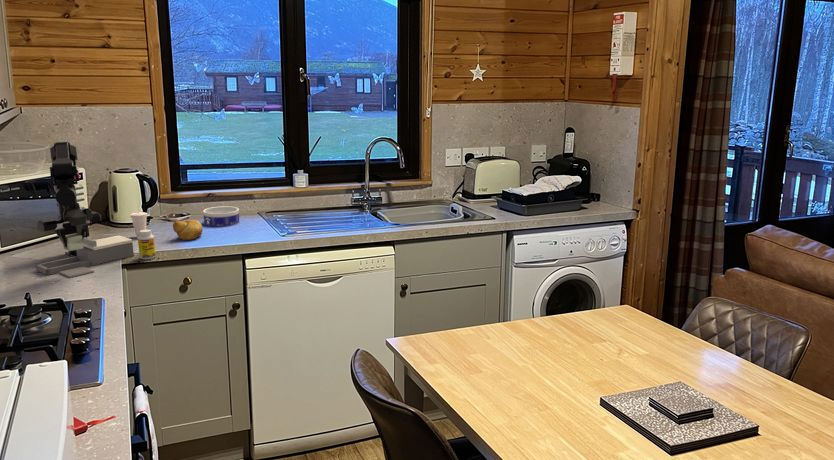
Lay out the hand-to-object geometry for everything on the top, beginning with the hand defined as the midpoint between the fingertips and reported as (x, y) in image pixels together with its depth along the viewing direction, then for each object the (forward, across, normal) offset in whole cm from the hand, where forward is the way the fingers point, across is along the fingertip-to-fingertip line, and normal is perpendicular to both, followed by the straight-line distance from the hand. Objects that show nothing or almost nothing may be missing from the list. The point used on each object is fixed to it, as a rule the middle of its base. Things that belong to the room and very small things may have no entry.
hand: (73, 245), depth 230 cm
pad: (+10, 0, 0) cm, 10 cm away
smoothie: (+10, +39, +29) cm, 50 cm away
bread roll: (+10, +52, +13) cm, 54 cm away
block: (+1, 0, 0) cm, 1 cm away
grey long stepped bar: (+10, +8, +9) cm, 16 cm away
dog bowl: (+10, +75, +25) cm, 80 cm away
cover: (+4, +16, +9) cm, 19 cm away
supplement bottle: (+10, +25, -2) cm, 27 cm away
